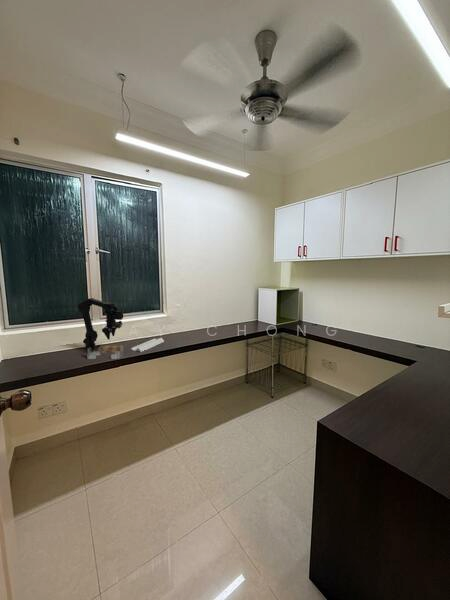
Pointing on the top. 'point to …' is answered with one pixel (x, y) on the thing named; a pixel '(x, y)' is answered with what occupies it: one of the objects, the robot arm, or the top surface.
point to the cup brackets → (93, 354)
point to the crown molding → (147, 345)
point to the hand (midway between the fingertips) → (111, 337)
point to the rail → (109, 349)
